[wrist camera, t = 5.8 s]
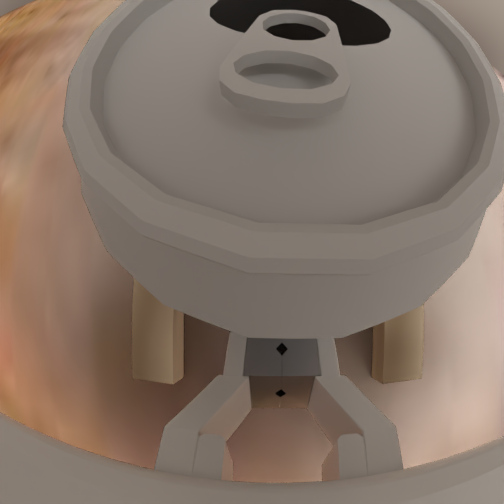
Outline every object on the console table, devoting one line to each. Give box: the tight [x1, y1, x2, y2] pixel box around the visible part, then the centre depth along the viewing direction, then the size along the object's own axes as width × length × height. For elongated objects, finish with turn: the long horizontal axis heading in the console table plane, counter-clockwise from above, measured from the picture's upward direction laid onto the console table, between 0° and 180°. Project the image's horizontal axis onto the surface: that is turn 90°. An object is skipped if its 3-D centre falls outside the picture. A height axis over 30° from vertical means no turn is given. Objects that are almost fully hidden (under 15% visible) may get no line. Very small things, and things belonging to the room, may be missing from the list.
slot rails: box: [132, 278, 424, 384], centre depth 14 cm, size 13×16×2 cm
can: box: [63, 0, 504, 339], centre depth 9 cm, size 8×8×12 cm
